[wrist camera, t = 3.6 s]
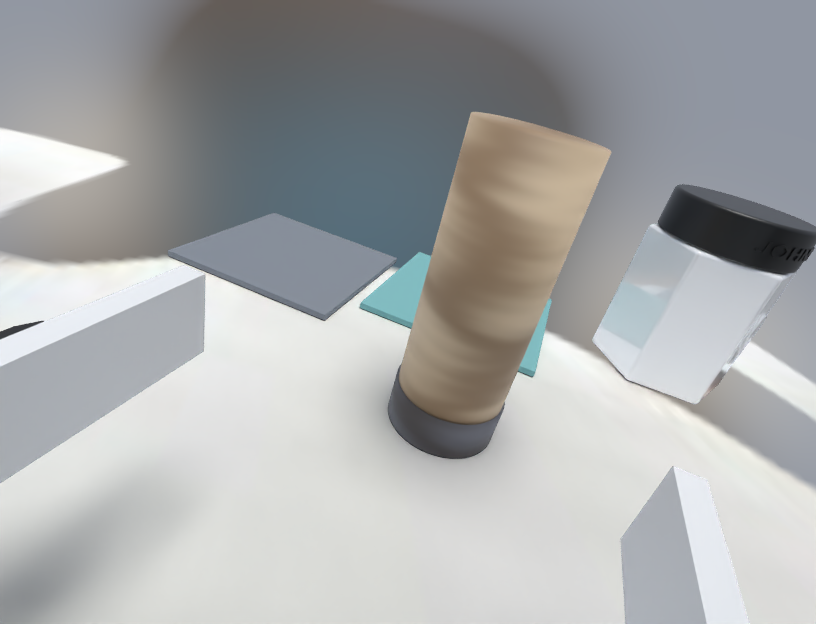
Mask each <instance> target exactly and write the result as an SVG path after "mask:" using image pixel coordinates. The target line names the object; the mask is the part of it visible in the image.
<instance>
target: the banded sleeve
mask: <svg viewBox="0 0 816 624" xmlns="http://www.w3.org/2000/svg"><path fill="white" fill-rule="evenodd" d="M610 154H611V151H610V150H609V149H607V148H605V147H602V146H600V145H597V144H595V143H593V142H590V141H587V140H584V139H581V138H578V137H576V136H572V135H569V134H566V133H563V132H560V131H556V130H553V129H550V128H546V127H542V126H539V125H535V124H532V123H528V122H524V121H520V120H516V119H512V118H507V117H503V116H498V115H492V114H488V113H481V112H472V113H471V115H470V119H469V122H468V126H467V129H466V133H465V137H464V140H463V144H462V148H461V151H460V155H459V159H458V162H457V166H456V170H455V173H454V177H453V180H452V184H451V187H450V191H449V195H448V199H447V202H446V205H445V209H444V213H443V216H442V220H441V224H440V227H439V231H438V234H437V238H436V242H435V245H434V249H433V253H432V256H431V260H430V263H429V267H428V271H427V274H426V278H425V281H424V285H423V289H422V292H421V296H420V300H419V303H418V307H417V310H416V314H415V318H414V321H413V325H412V329H411V332H410V336H409V339H408V343H407V347H406V350H405V354H404V358H403V361H402V364H401V365H400V367H399V369H398V372H397V375H396V379H395V382H394V386H393V390H392V393H391V397H390V401H389V405H388V414H389V417H390V420H391V422H392V424H393V426H394V428H395V429H396V430H397V432H398V433H399V434H400V435H401V436H402V437H403V438H404V439H405V440H406V441H408V442H409V443H410V444H412V445H413V446H415V447H416V448H418V449H420V450H422V451H424V452H427V453H429V454H432V455H436V456H439V457H445V458H466V457H470V456H473V455H476V454H478V453H480V452H481V451H483V450H484V449H485V448H486V447H487V445H488V444H489V442H490V440H491V437H492V435H493V433H494V430H495V428H496V426H497V423H498V421H499V419H500V416H501V414H502V412H503V409H504V405H505V399H506V397H507V395H508V392H509V390H510V388H511V385H512V383H513V381H514V378H515V376H516V374H517V371H518V369H519V367H520V364H521V362H522V360H523V357H524V355H525V353H526V350H527V348H528V346H529V343H530V341H531V339H532V336H533V334H534V332H535V329H536V327H537V325H538V322H539V320H540V318H541V315H542V313H543V311H544V308H545V306H546V304H547V301H548V299H549V297H550V294H551V292H552V290H553V287H554V285H555V283H556V280H557V278H558V275H559V273H560V271H561V268H562V266H563V264H564V262H565V259H566V257H567V255H568V252H569V250H570V247H571V245H572V243H573V240H574V238H575V236H576V234H577V231H578V229H579V227H580V224H581V222H582V219H583V217H584V215H585V213H586V210H587V208H588V205H589V203H590V201H591V198H592V196H593V194H594V191H595V189H596V187H597V184H598V182H599V180H600V177H601V175H602V173H603V170H604V168H605V166H606V163H607V161H608V159H609V156H610Z"/></svg>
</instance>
